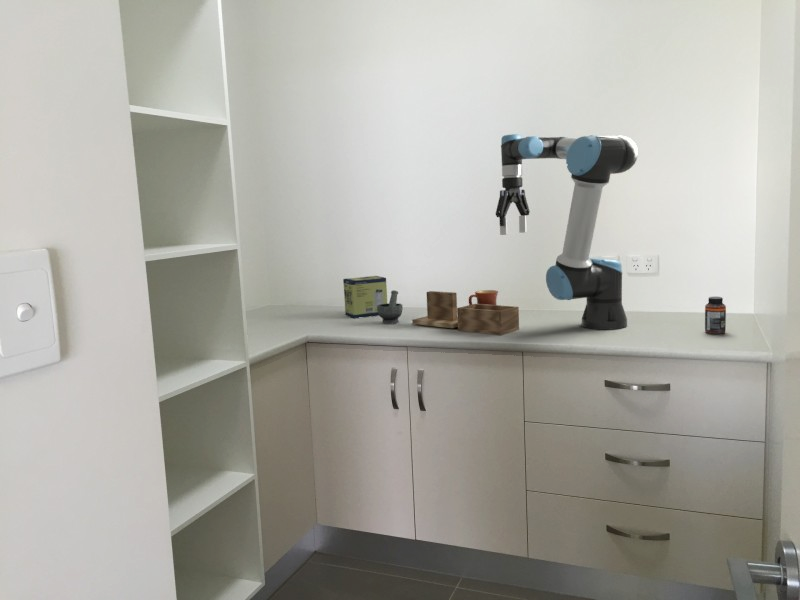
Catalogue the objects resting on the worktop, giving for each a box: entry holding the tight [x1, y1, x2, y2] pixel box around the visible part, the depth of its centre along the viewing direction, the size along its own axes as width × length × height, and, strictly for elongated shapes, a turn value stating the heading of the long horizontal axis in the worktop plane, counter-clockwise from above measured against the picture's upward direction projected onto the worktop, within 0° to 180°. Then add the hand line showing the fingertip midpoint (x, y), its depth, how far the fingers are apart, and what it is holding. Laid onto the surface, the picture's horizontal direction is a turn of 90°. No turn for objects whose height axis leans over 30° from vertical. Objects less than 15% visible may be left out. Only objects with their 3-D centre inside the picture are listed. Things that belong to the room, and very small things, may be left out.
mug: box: [468, 289, 499, 305], centre depth 258 cm, size 12×9×10 cm
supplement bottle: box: [704, 296, 727, 335], centre depth 212 cm, size 6×6×11 cm
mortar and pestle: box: [377, 290, 404, 325], centre depth 259 cm, size 11×9×12 cm
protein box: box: [342, 275, 388, 319], centre depth 280 cm, size 10×16×16 cm
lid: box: [411, 290, 458, 329], centre depth 249 cm, size 19×12×12 cm, turn 48°
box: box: [457, 303, 520, 336], centre depth 234 cm, size 18×11×8 cm, turn 49°
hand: (513, 233), depth 257 cm, fingers open, 13 cm apart
